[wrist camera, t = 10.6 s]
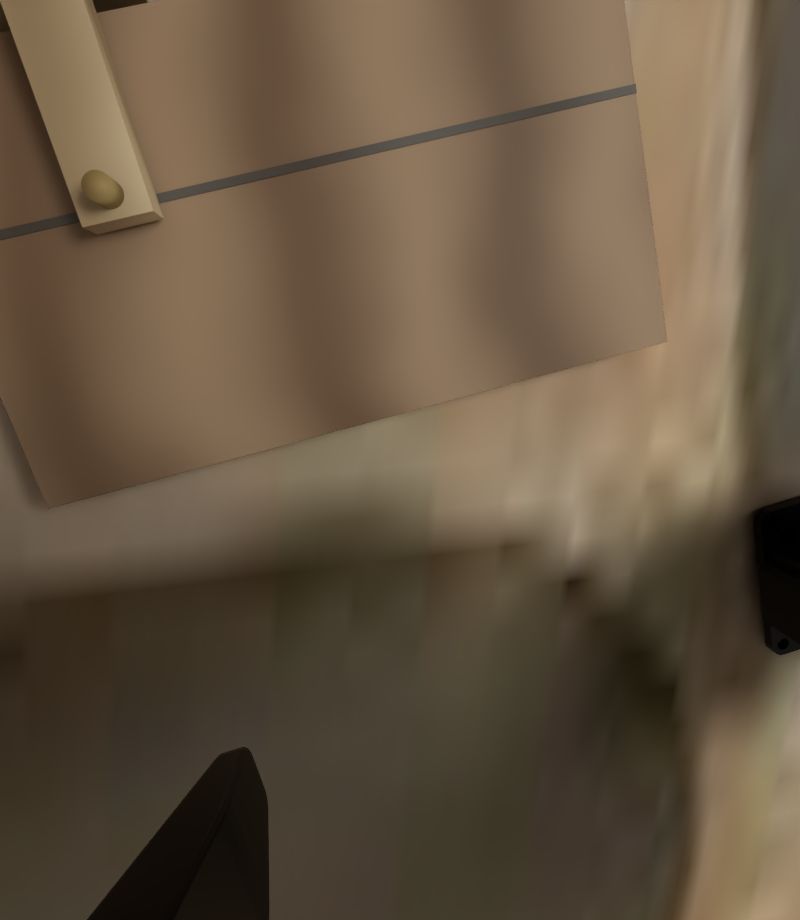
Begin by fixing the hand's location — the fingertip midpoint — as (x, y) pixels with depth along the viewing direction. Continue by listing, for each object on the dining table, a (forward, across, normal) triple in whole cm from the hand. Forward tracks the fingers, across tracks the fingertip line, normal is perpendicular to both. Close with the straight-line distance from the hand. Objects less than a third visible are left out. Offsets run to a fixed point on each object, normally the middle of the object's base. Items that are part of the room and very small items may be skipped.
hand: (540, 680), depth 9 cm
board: (+12, +1, -9) cm, 15 cm away
